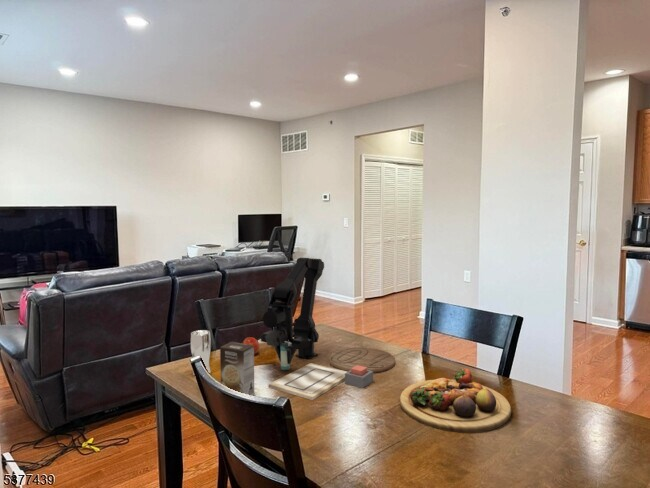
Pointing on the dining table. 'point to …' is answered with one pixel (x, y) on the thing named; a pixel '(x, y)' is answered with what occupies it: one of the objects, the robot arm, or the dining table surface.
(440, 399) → the wooden plate with food
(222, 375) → the coffee box
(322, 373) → the board
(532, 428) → the dining table surface
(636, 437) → the dining table surface
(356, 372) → the button
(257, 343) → the pomegranate
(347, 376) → the button housing
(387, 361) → the trivet
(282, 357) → the teal-banded white cylinder
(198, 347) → the beer glass
